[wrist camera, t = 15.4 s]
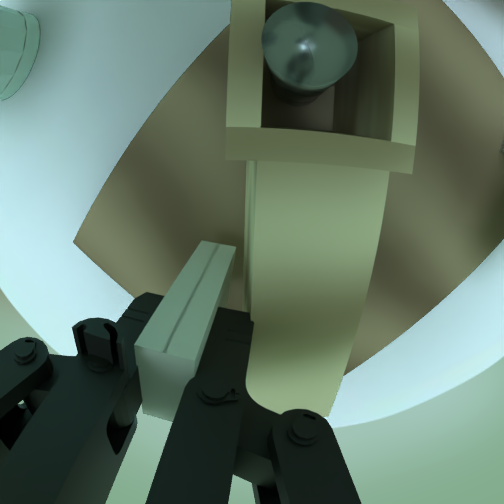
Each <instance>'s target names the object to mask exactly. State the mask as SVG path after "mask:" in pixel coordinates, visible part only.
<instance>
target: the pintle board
mask: <svg viewBox="0 0 504 504" xmlns="http://www.w3.org/2000/svg"><path fill="white" fill-rule="evenodd" d="M393 1H396V2H399V3H402V4H405V5H407V6H410V7H413V8H415V9H417V14H418V28H419V53H420V82H419V109H418V124H417V136H416V146H415V156H414V164H413V172H412V174H406V173H399V172H392V171H390V173H389V181H388V188H387V195H386V201H385V208H384V214H383V220H382V226H381V231H380V236H379V242H378V247H377V252H376V256H375V261H374V266H373V270H372V275H371V279H370V283H369V288H368V292H367V296H366V300H365V304H364V307H363V311H362V315H361V319H360V322H359V326H358V329H357V333H356V336H355V340H354V343H353V346H352V350H351V353H350V356H349V359H348V362H347V366H346V369H345V372H344V375H346V374H347V373H349V372H350V371H352V370H353V369H355V368H356V367H358V366H359V365H361V364H362V363H363V362H365V361H366V360H368V359H369V358H371V357H372V356H373V355H375V354H376V353H377V352H379V351H380V350H382V349H383V348H384V347H386V346H387V345H388V344H390V343H391V342H392V341H394V340H395V339H396V338H398V337H399V336H400V335H401V334H403V333H404V332H405V331H406V330H408V329H409V328H410V327H411V326H413V325H414V324H415V323H416V322H418V321H419V320H420V319H421V318H422V317H424V316H425V315H426V314H427V313H428V312H430V311H431V310H432V309H433V308H434V307H435V306H436V305H438V304H439V303H440V302H441V301H442V300H443V299H444V298H445V297H447V296H448V295H449V294H450V293H451V292H452V291H453V290H454V289H455V288H456V287H457V286H458V285H459V284H461V283H462V282H463V281H464V280H465V279H466V278H467V277H468V276H469V275H470V274H471V273H472V272H473V271H474V270H475V269H476V268H477V267H478V266H479V265H480V264H481V263H482V262H483V261H484V260H485V259H486V257H487V256H488V255H489V254H490V253H491V252H492V251H493V250H494V249H495V248H496V247H497V246H498V244H499V243H500V242H501V241H502V240H503V239H504V155H503V154H502V153H501V152H500V148H501V146H502V143H503V140H504V78H503V76H502V75H501V73H500V72H499V70H498V69H497V67H496V66H495V64H494V63H493V61H492V60H491V58H490V57H489V56H488V54H487V53H486V52H485V50H484V49H483V48H482V46H481V45H480V44H479V42H478V41H477V40H476V38H475V37H474V36H473V35H472V33H471V32H470V31H469V30H468V29H467V27H466V26H465V25H464V24H463V23H462V22H461V20H460V19H459V18H458V17H457V16H456V15H455V14H454V13H453V11H452V10H451V9H450V8H449V7H448V6H447V5H446V4H445V3H444V2H443V1H442V0H393ZM229 35H230V24H229V25H228V26H227V27H226V28H225V29H224V30H223V31H222V32H221V33H220V34H219V35H218V36H217V37H216V38H215V39H214V40H213V41H212V42H211V43H210V44H209V45H208V46H207V47H206V48H205V49H204V51H203V52H202V53H201V54H200V55H199V56H198V57H197V58H196V59H195V61H194V62H193V63H192V64H191V65H190V66H189V67H188V68H187V70H186V71H185V72H184V73H183V74H182V75H181V77H180V78H179V79H178V80H177V81H176V83H175V84H174V85H173V86H172V88H171V89H170V90H169V91H168V93H167V94H166V95H165V96H164V98H163V99H162V100H161V101H160V103H159V104H158V105H157V107H156V108H155V109H154V111H153V112H152V113H151V115H150V116H149V117H148V119H147V120H146V121H145V123H144V124H143V126H142V127H141V128H140V130H139V131H138V133H137V134H136V136H135V137H134V138H133V140H132V141H131V143H130V144H129V146H128V147H127V149H126V150H125V152H124V153H123V155H122V156H121V158H120V160H119V161H118V163H117V164H116V166H115V167H114V169H113V171H112V172H111V174H110V175H109V177H108V179H107V180H106V182H105V184H104V185H103V187H102V189H101V191H100V192H99V194H98V196H97V198H96V199H95V201H94V203H93V205H92V206H91V208H90V210H89V212H88V214H87V216H86V218H85V219H84V221H83V223H82V225H81V227H80V229H79V231H78V233H77V235H76V237H75V239H74V241H73V243H74V244H75V245H76V246H77V247H78V248H79V249H80V250H81V251H83V252H84V253H85V254H86V255H87V256H88V257H89V258H90V259H91V260H92V261H93V262H94V263H95V264H96V265H98V266H99V267H100V268H101V269H102V270H103V271H104V272H105V273H106V274H108V275H109V276H110V277H111V278H112V279H113V280H114V281H115V282H117V283H118V284H119V285H120V286H121V287H122V288H124V289H125V290H126V291H127V292H128V293H129V294H131V295H132V296H133V297H134V298H136V297H138V296H140V295H142V294H144V293H145V292H150V293H154V294H158V295H163V296H165V295H166V293H167V292H168V290H169V289H170V287H171V286H172V284H173V283H174V281H175V280H176V278H177V277H178V275H179V274H180V272H181V271H182V269H183V268H184V266H185V265H186V263H187V262H188V260H189V259H190V257H191V256H192V254H193V253H194V251H195V250H196V248H197V247H198V245H199V244H200V242H201V241H207V242H213V243H218V244H223V245H229V246H234V247H236V251H235V258H234V264H233V271H232V278H231V284H230V291H229V298H228V304H227V307H226V308H228V309H233V310H238V311H242V305H243V264H244V228H245V194H246V162H247V160H225V146H226V108H227V80H228V56H229ZM334 97H335V83H334V84H333V85H332V86H331V87H329V88H328V89H327V90H326V91H325V92H324V93H323V94H321V95H320V96H319V97H318V98H317V99H316V100H315V101H313V102H312V103H310V104H308V105H304V106H293V105H290V104H287V103H285V102H284V101H282V100H281V99H280V98H279V97H278V96H277V94H276V92H275V90H274V87H273V83H272V79H271V76H270V72H269V69H268V65H267V62H266V59H265V55H263V81H262V107H261V126H273V127H289V128H302V129H314V130H324V131H333V116H334ZM344 375H343V376H344Z"/></svg>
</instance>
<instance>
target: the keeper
mask: <svg viewBox="0 0 504 504" xmlns="http://www.w3.org/2000/svg"><path fill="white" fill-rule="evenodd" d="M500 152H501V153H502V154H503V155H504V140H503V143H502V146H501V148H500Z"/></svg>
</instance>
